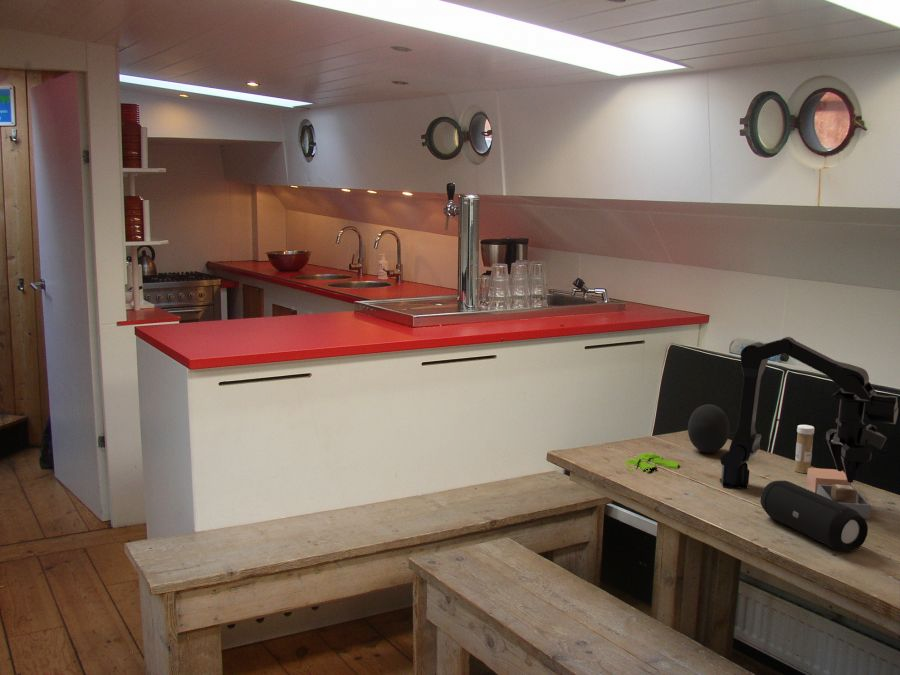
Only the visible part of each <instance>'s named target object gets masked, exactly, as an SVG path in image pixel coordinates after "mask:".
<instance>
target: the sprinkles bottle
mask: <svg viewBox="0 0 900 675" xmlns="http://www.w3.org/2000/svg"><path fill="white" fill-rule="evenodd" d="M796 432H797V433H796V434H797V436H796V437H797V438H796V444H795V458H794V459H795V460H794V461H795V462H794V471H795V472H797V473H800V474H807V472H808V468H812V467H811V464H812V456H813V442H814V434H815V427H814V426H813V425H809V424H799V425H797V428H796Z"/></svg>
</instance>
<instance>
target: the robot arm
mask: <svg viewBox="0 0 900 675" xmlns="http://www.w3.org/2000/svg"><path fill="white" fill-rule="evenodd" d="M783 354H784V355H786V356H789V357H791V358H793V359H794V360H796V361H798V362H800V363H802V364H804V365H806V366H808V367H809V368H812V369H814V370H816V371H818V372H819V373H822V374H823V375H825V376H827V377H828V378H829V379H830V380H831V381H832V382H833V383H834V384H835V385H837V386H838V387H839V389H838V390H837V392H835V393H833V394H832V395H831V398H832V399H836V400H839V408H838V418H835V423H836V424H837V428H830V429H828V430H827V431H826V433H825V439H826V442H827V445H828V447H829V450H830V453H831V455H832V458H833V461H834V465H835V467H836V470H838V471H844V473H845V474H846V478H847V481H848V482H849V483H851V484H852V483H854V481H855V478H856V476H857V473H858V472H859V469H860V467H861V465H863V464H865V463H868V462H870V461H872V456H873V452H872V451H871V450H870V449H869V448H868V447H867V446H866V443H867V444H868V445H871V446H874V447H876V449H879V450H882V448H883V447H884V444H885V443H886V441H887V437H886V436H885V435H883V434H882V433H881V432H879V431H878V427H877V426H875V425H873V424H870V423H869V424H867V425H866V424H865V423H864V414H865V416H866V418H868V419H869V421H872V422H878V423H884V424H892V425H896V424H897V420H898V416H899V407H898V405H899V403H898V396H896V395H882V394H877V391H876V390H875V389H874V387H873V385H872V384H871V383H870V376H869V374H868V371H867V370H866V369H864V368H863V367H860V366H857V365H854V364H852V363H851V364H850V363H846V362H841V361H838V360H835V359H832V358H831V357H829V356H827V355H825V354H823V353H821V352H818V351H817V350H815V349H813V348H811V347H809V346H807V345H805V344H803V343H801V342H799V341H797V340H796V339H794V338H793V337H791V336H785V337H782V338H780V339H778V340H774V341H770V342H767V343H763V342H759V341H758V342H754V343H751V344H748V345H746V346H745V347H743V348H742V349H741V352H740V367H741V370H742V374H743V379H742V380H743V382H742V387H741V388H742V390H741V399H740V406H739V415H738V422H737V427H736V430H735V431H734V432H735V433H734V434H733V436H732V439H731V442H730V445H729V449H728V451H727V452H726V453H724V454H723V455H721V456H720V457H719V459H720V463H721V477H720V478H719V482H720V484H721V485H722V487H723V488H731V489H732V488H733V489H748V485H749V484H750V482H749V481H750V469H749V468H748V467H749V465H748V463H747V462H749V460H750V458H752V457H754V456H755V455H756V454H757V452H758V451H759V450H760V449H761V446H760V443H761V439H762V433H761V434H760V433H759V434H758V433H757V430H756V421H757V411H758V405H759V397H760V396H759V395H760V388H761V380H762V376H763V374H764V372H765V370H766V367H767V364H768V362H769V359H770V358H774V357H776V356H780V355H783Z"/></svg>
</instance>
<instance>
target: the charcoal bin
mask: <svg viewBox="0 0 900 675" xmlns="http://www.w3.org/2000/svg"><path fill="white" fill-rule="evenodd" d="M853 487H854V488H855V489H856V490H857V495H856V504H855V503H840V502H838V503H840V504H842V505H845V506H847V507H849V508H852V509H854V510H856V511H857V512H858V513H859V514H860V515H861V516H862V517H863V518H864V519H865V520H866V519H868V520H869V519H871V513H872V512H871V510H872V504H871V503H870V502H869V501H868V500H867V499H866V498H865V497H864V496H863V495H862V493H861V492H860V491H859V490H858V489H857V488H856V487H855V486H853ZM831 489H832V485H818V486H817V494H819V495H821V496H824V497H826V498H828V499H831ZM831 500H832V499H831Z"/></svg>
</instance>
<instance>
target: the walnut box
mask: <svg viewBox="0 0 900 675" xmlns="http://www.w3.org/2000/svg"><path fill="white" fill-rule="evenodd" d="M854 487H855V486H853V485H852V484H851V485H836V484H832V489H831V499H832V500H833V501H835V502H840V503H855V504H856V495H857V490H858V489H857V488H856V487H855V488H856V489H857V490H856V489H855V488H854Z"/></svg>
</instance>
